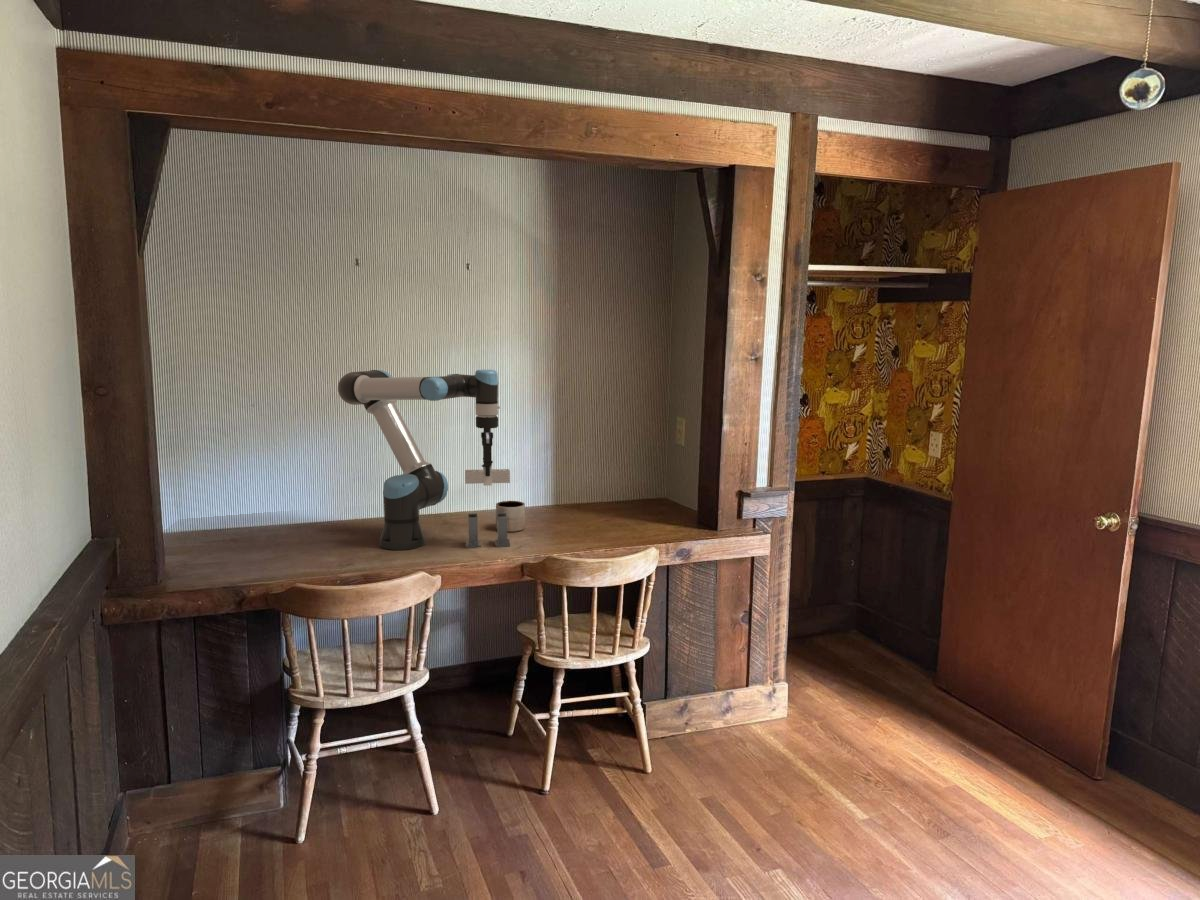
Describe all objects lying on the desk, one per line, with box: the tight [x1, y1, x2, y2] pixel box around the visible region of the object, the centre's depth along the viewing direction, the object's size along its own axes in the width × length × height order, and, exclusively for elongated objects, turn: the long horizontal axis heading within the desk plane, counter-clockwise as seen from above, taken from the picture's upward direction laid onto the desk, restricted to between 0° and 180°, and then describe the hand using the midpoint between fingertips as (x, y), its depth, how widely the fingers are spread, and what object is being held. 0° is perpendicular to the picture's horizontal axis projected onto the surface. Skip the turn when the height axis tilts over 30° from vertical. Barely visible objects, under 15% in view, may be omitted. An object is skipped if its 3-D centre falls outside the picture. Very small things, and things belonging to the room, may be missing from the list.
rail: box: [464, 468, 511, 485], centre depth 270 cm, size 15×4×4 cm, turn 100°
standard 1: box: [465, 512, 482, 549], centre depth 273 cm, size 5×7×10 cm
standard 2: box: [494, 513, 511, 548], centre depth 274 cm, size 5×7×10 cm
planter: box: [495, 500, 526, 533], centre depth 295 cm, size 11×11×10 cm
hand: (487, 483), depth 271 cm, fingers closed on rail, 4 cm apart
